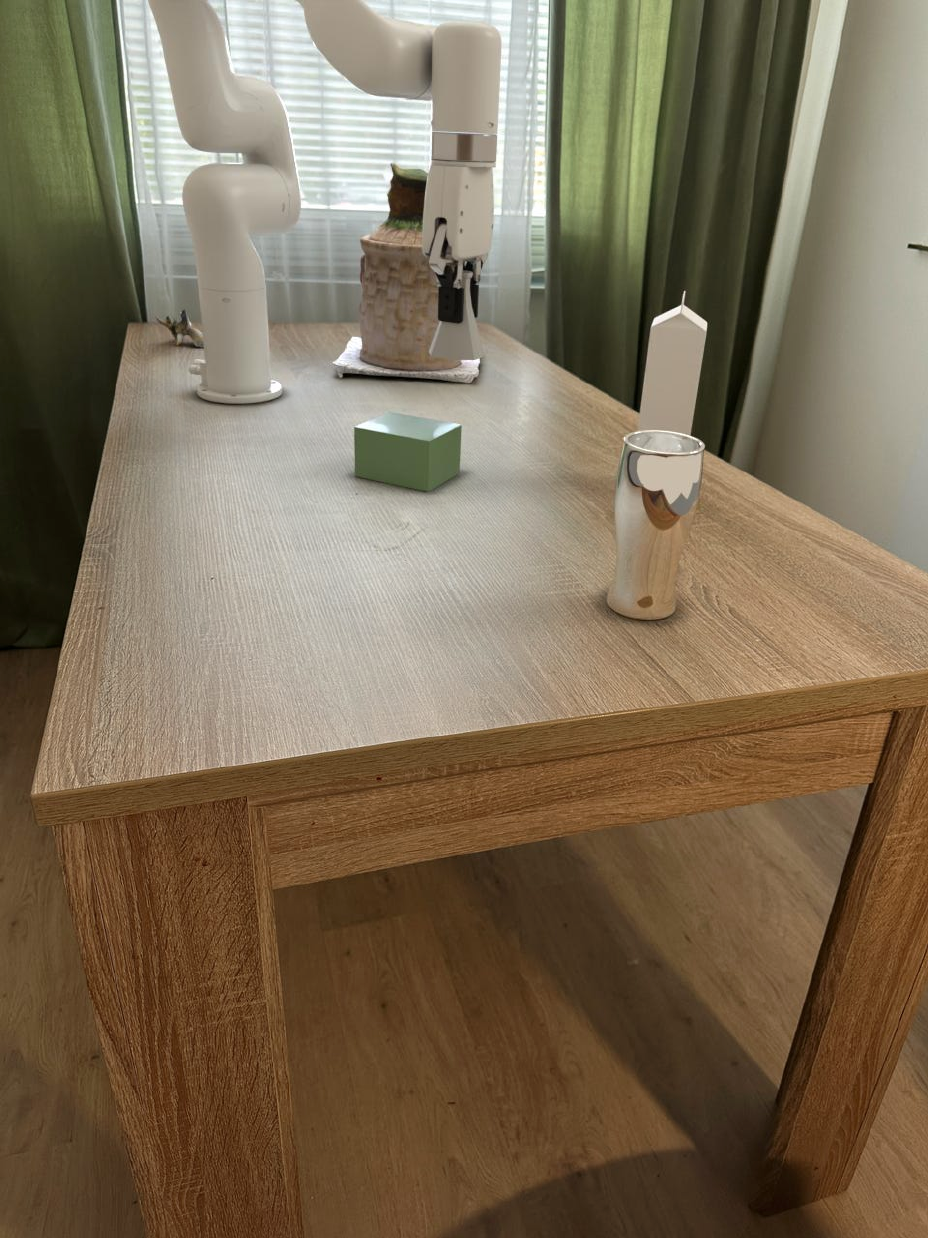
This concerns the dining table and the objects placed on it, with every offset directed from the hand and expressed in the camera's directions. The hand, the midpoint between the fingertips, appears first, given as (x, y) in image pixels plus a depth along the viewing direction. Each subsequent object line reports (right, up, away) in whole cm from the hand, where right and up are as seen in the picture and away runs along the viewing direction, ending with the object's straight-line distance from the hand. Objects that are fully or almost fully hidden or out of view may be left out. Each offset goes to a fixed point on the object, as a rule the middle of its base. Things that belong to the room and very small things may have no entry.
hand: (457, 317), depth 113 cm
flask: (0, -4, +2) cm, 5 cm away
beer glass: (+17, -36, -31) cm, 50 cm away
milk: (+24, -21, -2) cm, 32 cm away
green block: (-6, -20, -2) cm, 21 cm away
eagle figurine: (-51, +14, +58) cm, 78 cm away
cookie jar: (-9, +8, +50) cm, 51 cm away
